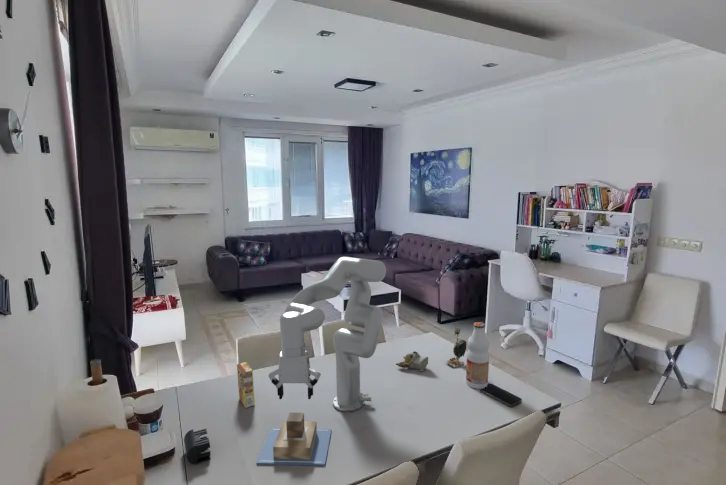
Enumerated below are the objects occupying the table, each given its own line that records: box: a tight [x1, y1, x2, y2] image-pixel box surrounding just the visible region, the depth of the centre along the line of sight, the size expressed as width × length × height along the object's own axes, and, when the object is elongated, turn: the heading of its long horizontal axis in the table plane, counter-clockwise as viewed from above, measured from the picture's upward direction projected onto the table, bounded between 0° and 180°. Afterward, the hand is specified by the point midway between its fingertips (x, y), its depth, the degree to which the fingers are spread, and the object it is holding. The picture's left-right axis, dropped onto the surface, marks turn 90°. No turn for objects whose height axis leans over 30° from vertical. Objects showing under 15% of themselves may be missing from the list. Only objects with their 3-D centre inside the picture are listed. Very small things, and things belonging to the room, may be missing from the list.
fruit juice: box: [465, 321, 490, 390], centre depth 175 cm, size 9×9×28 cm
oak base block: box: [273, 420, 318, 459], centre depth 136 cm, size 12×14×5 cm
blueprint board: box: [256, 427, 332, 467], centre depth 136 cm, size 22×18×1 cm
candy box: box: [236, 361, 256, 409], centre depth 162 cm, size 9×4×15 cm, turn 33°
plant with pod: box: [445, 326, 468, 368], centre depth 195 cm, size 8×11×20 cm
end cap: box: [183, 428, 212, 465], centre depth 132 cm, size 10×7×7 cm
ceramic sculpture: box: [395, 351, 429, 372], centre depth 192 cm, size 11×9×15 cm
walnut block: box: [285, 412, 305, 438], centre depth 135 cm, size 5×5×6 cm
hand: (295, 397), depth 134 cm, fingers open, 9 cm apart
